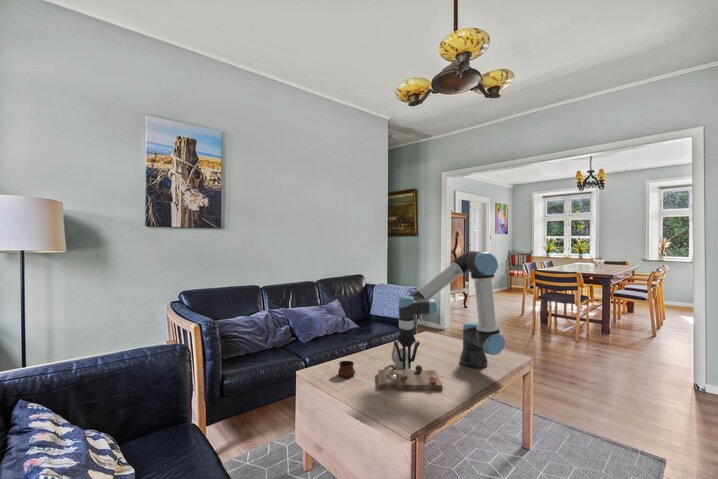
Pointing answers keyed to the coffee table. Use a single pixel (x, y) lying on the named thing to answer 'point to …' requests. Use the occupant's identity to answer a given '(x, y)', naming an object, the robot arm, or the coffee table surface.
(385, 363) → the coffee table surface
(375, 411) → the coffee table surface
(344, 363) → the ceramic pot
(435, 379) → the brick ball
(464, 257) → the robot arm
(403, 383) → the deck
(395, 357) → the mug
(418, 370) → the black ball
